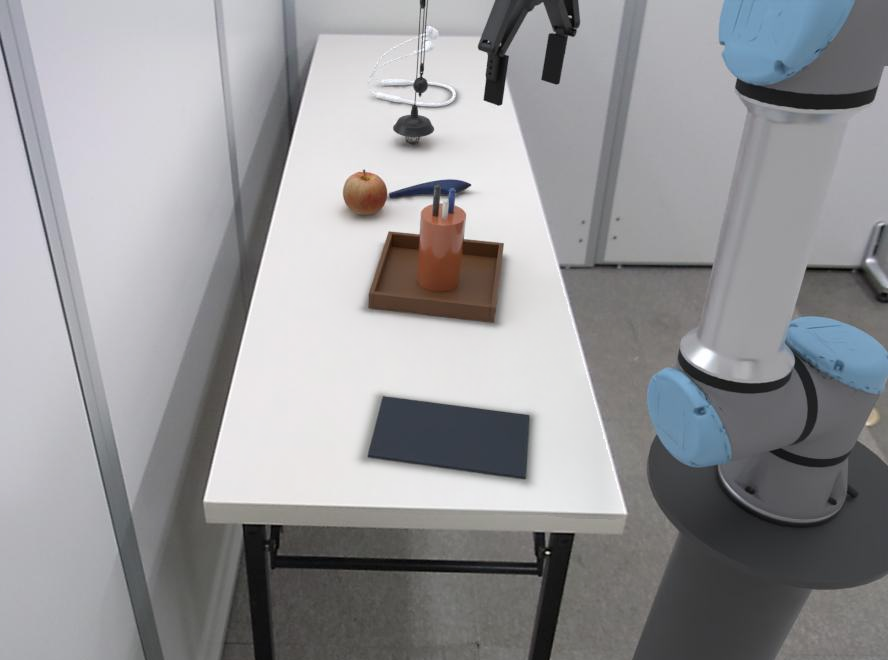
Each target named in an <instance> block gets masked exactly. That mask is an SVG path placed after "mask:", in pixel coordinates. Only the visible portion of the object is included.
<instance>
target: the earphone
mask: <svg viewBox="0 0 888 660" xmlns="http://www.w3.org/2000/svg"><path fill="white" fill-rule="evenodd" d="M439 34H440V33H439V31H438V29H436V28H435V27H433V26H431V25H426V38H425V32H423V45H422V33H420V37H419V35H418V36H415V37H413V38H411V39H408V40H406V41H404V42H401V43H399V44H397V45H395V46H394V47H392V48H390V49H389V50H387V51H386V52H384V53H383V54H382V55H381V56H380V58H379V59H378V60H377V61H376V64H375V65H374V67H373V69H372V72H371V74H370V76H369V78H368V80H367V87H368V89H369V91H370V93H371V94H373V95H374V96H375V98H376V99H380V100H384V101H387V102H394V103H399V104H400V103H405V104H410V105H414V104H416V105H417V106H421V107H433V108H434V107H435V108H436V107H444V106H447V105H449V104H452V103H453V102H454V101H455V99H456V96H457V93H456V90H455V88H453V87H452V86H451V85H448V84H446V83H443V82H436V81H428V80H427V83H428V86H435V87H441V88H445V89H447V90H449V91H450V92H451V93H452V95H451V98H449V100H447V101H442V102H422V101H416V103H415V100H411V99H405V98H402V97H400V96H398V95H393V94H388V93H384V92H379V91H377V92H376V93H375V92H374V91H373V90H372V89H371V87H370V81H371V79H372V78H373V79H374V80H375V82H376V83H379V84H381V86H385V87H386V86H387V87H388V86H408V85H413V84H414V81H415V80H409V79H401V78H391V79H390V78H386V79H381V80H378V79H376V77H375V73H376V71H377V70H379V69H380V68H381V67H383V66H386V65H388V64H390V63H393V62H396V61H398V60H401V59H403V58H407V57H409V56H418V49H417V50H414V51H413V52H412V53H409V54H406V55H402V56H399V57H395V58H393V59H390V60H389V61H386V62H383V63H382V64H380V65H378V64H379V62H381V60H382V59H383V58H384V57H385V56H386V55H387V54H388V53H390V52H391V51H393V50H395V49H397V48H398V47H400V46H402V45H405V44H407V43H409V42H411V41H414V40H418V37H419V39H420V38H421V39H420V44H421V45H422V54H424V38H425V54H426V53H431V52H433V51H434V49H435V46H434V45H435V44H434V43H433V41H430V40H429V38H430V39H431V40H437V39H438V38H439ZM419 55H421V48H419Z"/></svg>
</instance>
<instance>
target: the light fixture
mask: <svg viewBox="0 0 888 660" xmlns="http://www.w3.org/2000/svg"><path fill="white" fill-rule="evenodd" d="M428 6H429V0H419V20H418V21H419V22H418V36H419V37H420V36H421V34H422V38H421V37H420V38H421V39H422V44H421V47H420V38H419V37H418V36H417V37H418V38H417V50H418V55H416V56H417V57H416V58H417V60H416V76H415V80H413V81H414V84H412V87H413V90H414V101H415V103H416V102H417V101H416V100H417V95H418V96H419V98H421V97H422V96H423V94H424V93H425V92H427V91H428V88H429V85H428V83H427V81H428V80H427V78H426V77H423V75H424V71H425V57H426V56H425V55H426V53H425V38H426V27H427V18H428V8H429V7H428ZM422 10H423V14H422ZM421 15H423V16H422V17H421ZM421 18H422V33H421ZM423 33H425V38H424V37H423ZM423 38H424V53H422V49H423ZM420 49H421V54H419V50H420ZM419 56H420V64H419ZM418 70H419V76H418ZM418 106H419V105H416V104H412V106H411V110H410V114H406V115H402V116H400V117H399V118H398V119H397V121H396V122H395V124H394V125H393V127H392V130H393V132H394V133H396V134H397V135H400V136H402V137H405V138H404V139H405V141H406V142H407V143H408V144H410V145H412V146H415V145H418V143H419V141H420V139H421V138H422V137H427V136H430V135H432V134H433V133H434V132H435V127H434V125H433V123H432V121H431V120H430V119H429V118H428V117H426V116H424V115H421V114H419V109H418ZM412 139H415V140H414V141H413V140H412Z"/></svg>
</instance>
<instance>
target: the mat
mask: <svg viewBox="0 0 888 660" xmlns="http://www.w3.org/2000/svg"><path fill="white" fill-rule="evenodd" d="M375 421H376V422H375V424H374V425H375V426H374V429H373V434H372V437H371V441H370V443H369V444H370V445H369V449H368V452H367V457H368V458H371V459H379V460H387V461H392V462H393V461H394V462H399V463H408V464H415V465H422V466H429V467H438V468H444V469H451V470H458V471H464V472H465V471H466V472H471V473H472V472H473V473H481V474H486V475H492V476H493V475H495V476H502V477H509V478H516V479H523V480H526V478H527V462H528V448H529V447H528V445H529V430H530V429H529V428H530V414H524V413H517V412H510V411H502V410H493V409H487V408H478V407H470V406H464V405H455V404H447V403H439V402H432V401H424V400H415V399H408V398H400V397H393V396H385V395H383V396H382V398H381V402H380V406H379V410H378V413H377V418H376V420H375Z"/></svg>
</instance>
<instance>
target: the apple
mask: <svg viewBox="0 0 888 660" xmlns="http://www.w3.org/2000/svg"><path fill="white" fill-rule="evenodd" d="M342 197H343V201H344V204H345V205H346V207H347V208H348V210H350V211H351V212H353V213H355V214H357V215H367V216H368V215H369V216H370V215H374V214H376V213H378V212H379V211H381V210H382V209H383V208H384V206H385V204H386V202H387V198H388V188H387V185H386V183H385V181H384V180H383V178H381V177H380V176H379V175H378V174H375V173H372V172H370V171H366V169H362V171H357V172H355V173H353V174H351V175H350V176H349V177H347V179H346V180H345V182H344V185H343V187H342Z"/></svg>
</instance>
